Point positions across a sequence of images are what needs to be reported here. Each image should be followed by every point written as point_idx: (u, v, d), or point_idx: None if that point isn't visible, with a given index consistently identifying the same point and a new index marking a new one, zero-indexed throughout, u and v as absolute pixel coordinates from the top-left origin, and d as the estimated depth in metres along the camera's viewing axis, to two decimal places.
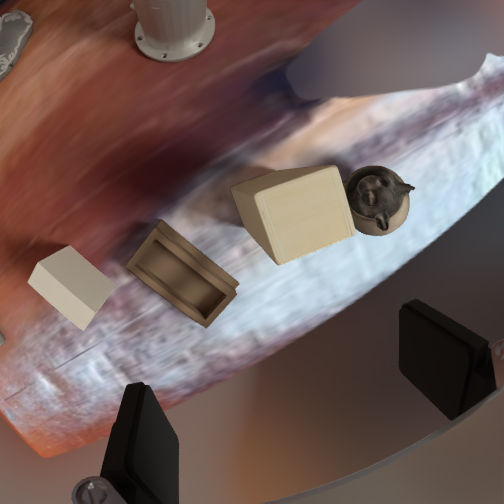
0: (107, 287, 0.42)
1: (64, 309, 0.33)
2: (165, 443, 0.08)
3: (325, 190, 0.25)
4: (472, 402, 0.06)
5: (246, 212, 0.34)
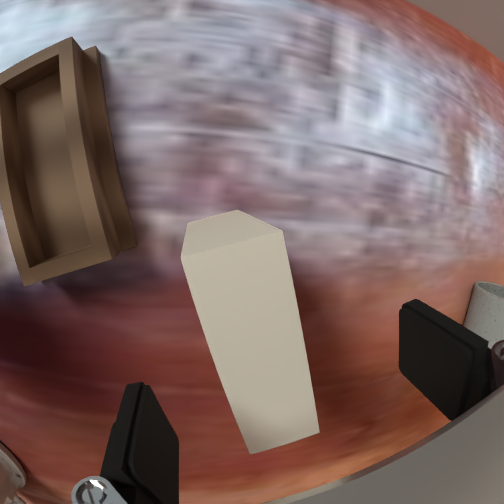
0: None
1: (281, 330, 0.11)
2: (165, 443, 0.08)
3: None
4: (472, 402, 0.06)
5: None
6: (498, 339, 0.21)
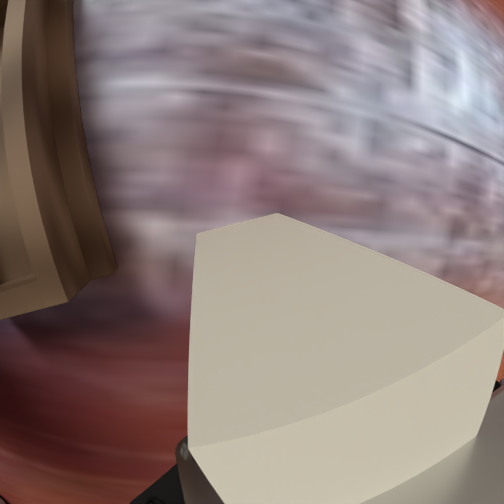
0: None
1: None
2: None
3: None
4: None
5: None
6: None
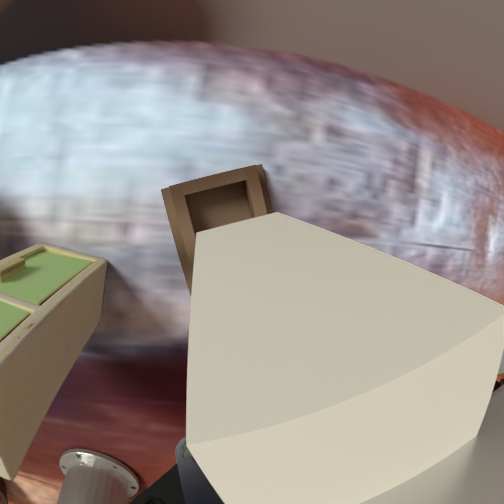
0: None
1: None
2: None
3: None
4: None
5: (60, 355, 0.16)
6: None
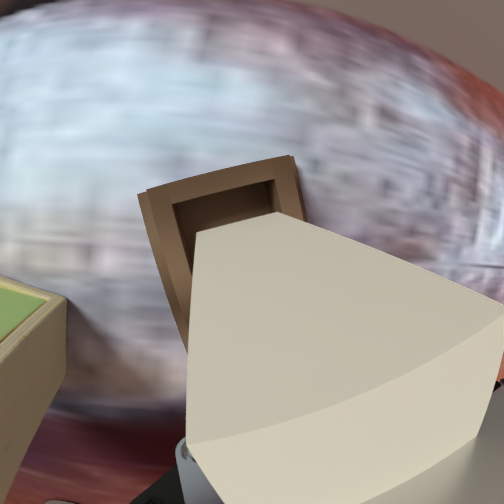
0: None
1: None
2: None
3: None
4: None
5: None
6: None
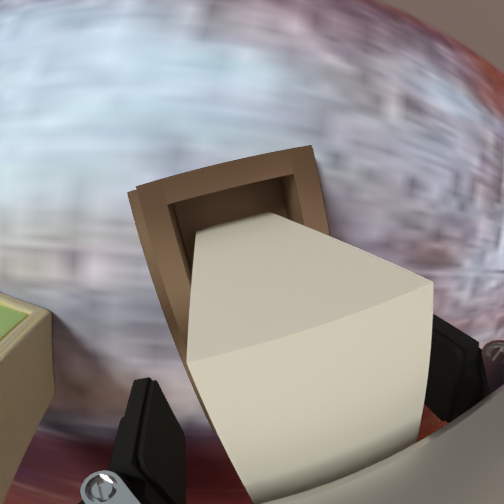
0: None
1: (384, 455, 0.05)
2: (172, 438, 0.08)
3: None
4: (463, 403, 0.06)
5: None
6: None
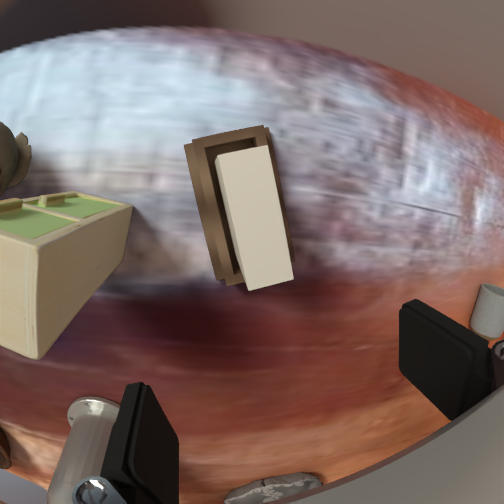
0: None
1: (267, 197, 0.21)
2: (165, 443, 0.08)
3: None
4: (472, 402, 0.06)
5: (93, 268, 0.21)
6: (494, 319, 0.36)
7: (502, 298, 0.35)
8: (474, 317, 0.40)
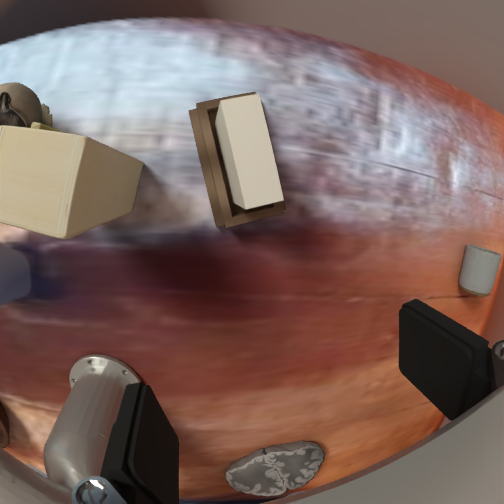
0: (217, 126, 0.32)
1: (259, 132, 0.26)
2: (165, 443, 0.08)
3: (0, 195, 0.15)
4: (472, 402, 0.06)
5: (112, 194, 0.25)
6: (481, 275, 0.41)
7: (486, 253, 0.40)
8: (462, 275, 0.45)
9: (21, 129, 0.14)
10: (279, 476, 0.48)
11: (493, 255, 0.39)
